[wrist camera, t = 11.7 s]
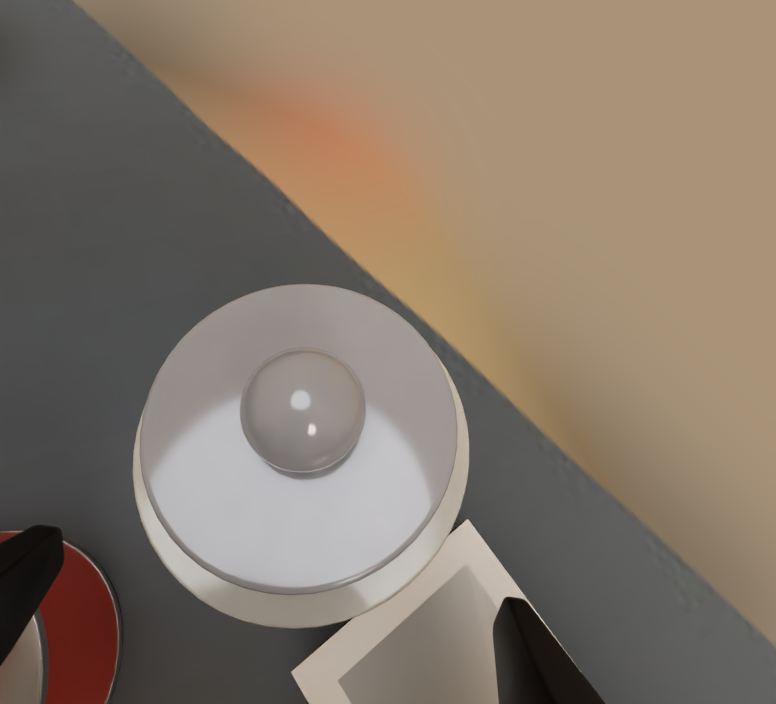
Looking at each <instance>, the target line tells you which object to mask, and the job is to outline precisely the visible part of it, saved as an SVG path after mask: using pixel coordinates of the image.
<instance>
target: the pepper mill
mask: <svg viewBox="0 0 776 704" xmlns="http://www.w3.org/2000/svg"><path fill="white" fill-rule="evenodd" d="M468 471H469V436H468V428H467V422H466V418H465V414H464V409H463V405H462V403H461V400H460V397H459V395H458V392H457V389H456V387H455V385H454V383H453V381H452V379H451V377H450V375H449V373H448V372H447V370H446V368H445V367H444V365H443V364H442V362H441V361H440V360H439V358H438V357H437V355H436V354H435V353H434V352H433V350H432V349H431V348H430V346H429V345H428V344H427V342H426V341H425V340H424V338H423V337H422V336H421V335H420V334H419V333H418V332H417V331H416V329H415V328H414V327H413V326H411V325H410V324H409V323H408V322H407V321H406V320H405V319H403V318H402V317H401V316H400V315H398V314H397V313H396V312H394V311H393V310H391V309H390V308H388V307H387V306H385V305H383V304H381V303H379V302H377V301H376V300H374V299H372V298H370V297H367V296H364V295H362V294H359V293H357V292H354V291H350V290H346V289H343V288H339V287H333V286H326V285H319V284H295V285H283V286H278V287H273V288H268V289H263V290H260V291H257V292H254V293H251V294H248V295H245V296H243V297H241V298H238V299H236V300H234V301H232V302H229V303H228V304H226V305H224V306H223V307H221V308H219V309H217V310H216V311H214V312H212V313H211V314H210V315H208V316H207V317H206V318H204V319H203V320H202V321H201V322H199V323H198V324H197V325H196V326H195V327H193V328H192V329H191V330H190V331H189V332H188V333H187V334H186V335H185V336H184V337H183V338H182V339H181V341H180V342H179V343H178V344H177V345H176V347H175V348H174V349H173V350H172V352H171V353H170V354H169V356H168V357H167V359H166V360H165V362H164V364H163V365H162V367H161V369H160V370H159V372H158V374H157V376H156V378H155V380H154V383H153V385H152V387H151V389H150V392H149V395H148V398H147V402H146V405H145V407H144V410H143V413H142V416H141V420H140V423H139V426H138V429H137V435H136V441H135V447H134V452H133V483H134V492H135V500H136V504H137V508H138V511H139V515H140V519H141V523H142V525H143V527H144V530H145V532H146V534H147V537H148V539H149V541H150V544H151V545H152V547H153V549H154V550H155V552H156V553H157V555H158V557H159V558H160V560H161V561H162V563H163V565H164V566H165V567H166V568H167V569H168V570H169V572H170V573H171V574H172V575H173V576H174V577H175V578H176V580H177V581H178V582H179V583H180V584H181V585H182V586H183V587H185V588H186V589H187V590H188V591H189V592H191V593H192V594H193V595H194V596H195V597H197V598H198V599H199V600H201V601H202V602H204V603H206V604H207V605H209V606H211V607H212V608H214V609H216V610H218V611H219V612H221V613H224V614H226V615H229V616H231V617H234V618H236V619H239V620H241V621H244V622H248V623H252V624H257V625H261V626H265V627H273V628H287V629H299V628H312V627H321V626H325V625H330V624H334V623H339V622H343V621H346V620H348V619H351V618H354V617H356V616H359V615H361V614H364V613H366V612H368V611H370V610H372V609H374V608H376V607H377V606H379V605H381V604H383V603H385V602H386V601H388V600H390V599H391V598H392V597H394V596H395V595H396V594H398V593H399V592H400V591H402V590H403V589H404V588H406V587H407V586H408V585H409V584H410V583H411V582H412V581H413V580H414V579H415V578H416V577H417V576H418V575H419V574H420V573H421V572H422V571H423V570H424V569H425V568H426V567H427V566H428V564H429V563H430V562H431V561H432V559H433V558H434V557H435V555H436V554H437V553H438V552H439V550H440V549H441V547H442V545H443V544H444V542H445V540H446V538H447V537H448V535H449V533H450V531H451V530H452V527H453V525H454V523H455V520H456V518H457V515H458V513H459V511H460V508H461V504H462V501H463V497H464V493H465V490H466V485H467V478H468Z"/></svg>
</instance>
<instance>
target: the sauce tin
mask: <svg viewBox="0 0 776 704" xmlns="http://www.w3.org/2000/svg"><path fill="white" fill-rule="evenodd" d="M21 532H23V531H1V532H0V543H1V542H3V541H5V540H7V539H9V538H11V537H13V536H15V535H17V534H19V533H21ZM63 546H64V555H65V559H64V564H63V567H62V569H61V571H60V573H59V574H58V576H57V578H56V579H55V581H54V582H53V584H52V586H51V587H50V589H49V591H48V592H47V594H46V595H45V597H44V599H43V600H42V602H41V604H40V605H39V607H38V609H37V610H36V612H35V613H34V615H33V617H32V618H31V620H30V622H29V623H28V625H27V627H26V628H25V630H24V631H23V633H22V635H21V636H20V638H19V640H18V641H17V643H16V644H15V646H14V647H13V649H12V650H11V652H10V654H9V655H8V656H7V658H6V659H5V661H4V662H3V663H2V665H1V666H0V704H109V702H110V699H111V697H112V694H113V692H114V688H115V684H116V680H117V677H118V673H119V668H120V661H121V655H122V636H123V631H122V621H121V613H120V609H119V604H118V600H117V597H116V594H115V592H114V589H113V587H112V584H111V582H110V581H109V579H108V577H107V576H106V574H105V572H104V571H103V569H102V568H101V567H100V566H99V564H98V563H97V562H96V561H95V560H94V558H92V557H91V556H90V555H89V554H88V553H86V552H85V551H84V550H83V549H82V548H80V547H78V546H77V545H75V544H73V543H72V542H70V541H68V540H65V539H63Z"/></svg>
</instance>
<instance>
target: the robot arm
mask: <svg viewBox="0 0 776 704" xmlns="http://www.w3.org/2000/svg"><path fill="white" fill-rule="evenodd" d="M64 559H65V555H64V546H63V537H62V531H61V530H60V528H58V527H53V526H47V525H36V526H33V527H31V528H29V529H27V530H25V531H23V532H21V533H19V534H17V535H15V536H13V537H11V538H9V539H7V540H5V541H3V542H1V543H0V666H1V665H2V663H3V662H4V661H5V659H6V658H7V656H8V655H9V654H10V652H11V650H12V649H13V647H14V646H15V644H16V643H17V641H18V640H19V638H20V636H21V635H22V633H23V631H24V630H25V628H26V627H27V625H28V623H29V622H30V620H31V618H32V617H33V615H34V613H35V612H36V610H37V609H38V607H39V605H40V604H41V602H42V600H43V599H44V597H45V595H46V594H47V592H48V591H49V589H50V587H51V586H52V584H53V582H54V581H55V579H56V578H57V576H58V574H59V573H60V571H61V569H62V567H63V564H64ZM493 644H494V655H495V666H496V677H497V688H498V699H499V704H605V703H604V701H603V700H602V699H601V697H600V696H599V695H598V693H597V692H596V691H595V690H594V688H593V687H592V686H591V684H590V683H589V682H588V680H587V679H586V678H585V677H584V675H583V674H582V673H581V671H580V670H579V669H578V667H577V666H576V665H575V663H574V662H573V661H572V660H571V658H570V657H569V656H568V654H567V653H566V652H565V650H564V649H563V648H562V646H561V645H560V644H559V643H558V641H557V640H556V639H555V637H554V636H553V635H552V633H551V632H550V631H549V630H548V628H547V627H546V626H545V624H544V623H543V622H542V620H541V619H540V618H539V616H538V615H537V614H536V613H535V611H534V610H533V609H532V607H531V606H530V605H529V603H528V602H527V601H526V600H524V599H521V598H515V597H505V598H504V600H503V601H502V604H501V606H500V609H499V611H498V613H497V616H496V618H495V621H494V624H493Z"/></svg>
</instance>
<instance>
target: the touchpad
mask: <svg viewBox="0 0 776 704" xmlns="http://www.w3.org/2000/svg"><path fill="white" fill-rule="evenodd" d="M505 597H515V598H521V599H524V600H526V601H527V602H528V603H529V605H530V606H531V607H532V609H533V610H534V611H535V613H536V614H537V615H538V616H539V614H538V613H537V612H536V610H535V609H534V608H533V606H532V605H531V604H530V602H529V601H528V600H527V598H526V597H525V595H524V594H523V593H522V591H521V590H520V589H519V587H518V586H517V585H516V583H515V582H514V581H513V579H512V578H511V577H510V575H509V574H508V573H507V571H506V570H505V568H504V567H503V566H502V564H501V563H500V562H499V560H498V559H497V558H496V556H495V555H494V554H493V552H492V551H491V550H490V548H489V547H488V545H487V544H486V543H485V541H484V540H483V539H482V537H481V536H480V535H479V533H478V532H477V531H476V529H475V528H474V527H473V525H472V524H471V523H470V521H469V520H468V519H467V520H466V521H465V522H464V523H462V524H461V525H460V526H459V527H458V528H457V529H455V530H454V531H453V532H452V533H451V534H450V535H449V536H448V537H447V538H446V540H445V542H444V544H443V545H442V547H441V549H440V550H439V552H438V553H437V554H436V555H435V557H434V558H433V559H432V561H431V562H430V563H429V564H428V566H427V567H426V568H425V569H424V570H423V571H422V572H421V573H420V574H419V575H418V576H417V577H416V578H415V579H414V580H413V581H412V582H411V583H410V584H409V585H408V586H407V587H406V588H404V589H403V590H402V591H400V592H399V593H398V594H396V595H395V596H394V597H392V598H391V599H390V600H388V601H386V602H385V603H383V604H381V605H379V606H377V607H376V608H374V609H372V610H370V611H368V612H366V613H364V614H361V615H359V616H356V617H354V618H353V619H352V620H350V621H349V622H348V623H347V624H346V625H345V626H343V627H342V628H341V629H340V630H339V631H338V632H337V633H335V634H334V635H333V636H332V637H331V638H330V639H328V640H327V641H326V642H325V643H324V644H323V645H322V646H320V647H319V648H318V649H317V650H316V651H315V652H313V653H312V654H311V655H310V656H309V657H308V658H307V659H305V660H304V661H303V662H302V663H301V664H300V665H298V666H297V667H296V668H295V669H294V670H293V671H291V673H292V675H293V677H294V679H295V680H296V682H297V684H298V686H299V687H300V689H301V691H302V693H303V694H304V696H305V698H306V699H307V701H308V703H309V704H499V699H498V688H497V677H496V666H495V655H494V644H493V624H494V621H495V618H496V616H497V613H498V611H499V609H500V606H501V604H502V601H503V600H504V598H505ZM539 618H540V619H541V620H542V618H541V617H540V616H539ZM542 622H543V623H544V621H543V620H542ZM544 624H545V623H544ZM545 626H546V627H547V625H546V624H545ZM547 628H548V627H547ZM548 630H549V631H550V629H549V628H548ZM550 632H551V631H550ZM551 633H552V632H551ZM552 635H553V633H552ZM553 636H554V635H553ZM554 637H555V636H554ZM555 639H556V637H555ZM556 640H557V639H556ZM557 641H558V640H557ZM558 643H559V641H558ZM559 644H560V643H559ZM560 645H561V644H560ZM561 646H562V645H561ZM562 648H563V647H562ZM563 649H564V648H563ZM565 652H566V651H565ZM566 653H567V652H566ZM568 656H569V655H568ZM569 657H570V656H569ZM571 660H572V659H571ZM572 661H573V660H572ZM575 665H576V664H575ZM578 669H579V668H578ZM581 673H582V672H581Z"/></svg>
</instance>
